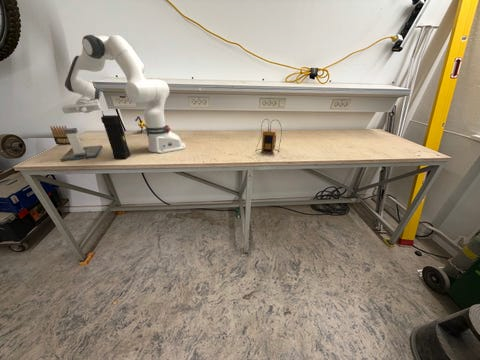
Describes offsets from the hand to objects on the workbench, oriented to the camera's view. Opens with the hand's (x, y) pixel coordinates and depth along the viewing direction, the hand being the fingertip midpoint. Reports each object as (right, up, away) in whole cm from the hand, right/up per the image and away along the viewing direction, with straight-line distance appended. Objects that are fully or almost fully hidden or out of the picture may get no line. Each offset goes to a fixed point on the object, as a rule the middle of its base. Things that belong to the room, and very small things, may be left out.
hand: (79, 110), depth 118 cm
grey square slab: (+6, -27, -4) cm, 28 cm away
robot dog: (+22, -5, +37) cm, 43 cm away
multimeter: (+115, -23, +5) cm, 117 cm away
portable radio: (+31, -29, -7) cm, 43 cm away
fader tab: (+7, -27, -9) cm, 30 cm away
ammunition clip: (-19, -18, +11) cm, 28 cm away
